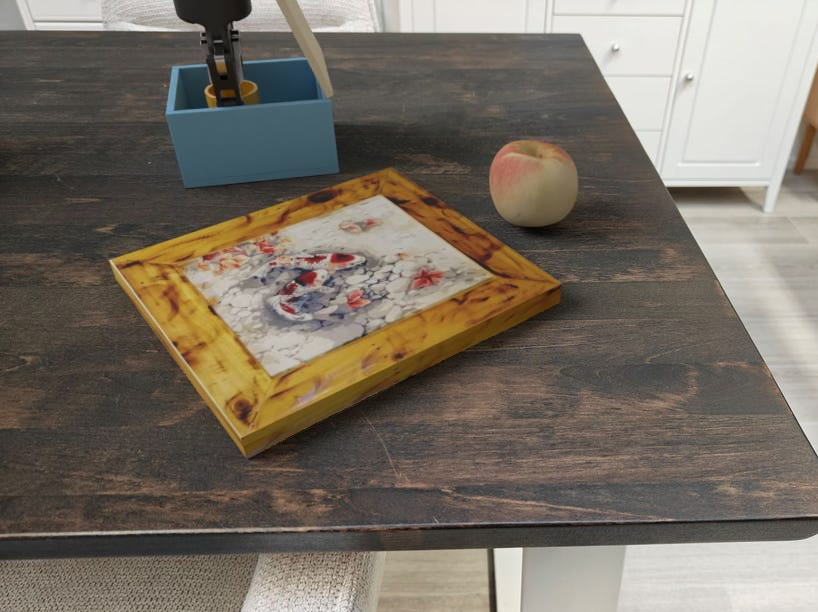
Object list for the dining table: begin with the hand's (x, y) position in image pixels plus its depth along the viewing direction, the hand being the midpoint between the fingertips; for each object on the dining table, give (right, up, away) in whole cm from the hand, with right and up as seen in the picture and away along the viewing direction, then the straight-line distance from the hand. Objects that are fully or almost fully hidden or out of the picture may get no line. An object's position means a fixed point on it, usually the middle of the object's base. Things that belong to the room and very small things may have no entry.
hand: (238, 127), depth 84 cm
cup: (0, -2, +2) cm, 3 cm away
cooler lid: (+7, +11, -8) cm, 15 cm away
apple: (+33, -12, -7) cm, 36 cm away
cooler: (+2, -2, +3) cm, 4 cm away
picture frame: (+14, -20, -17) cm, 30 cm away
